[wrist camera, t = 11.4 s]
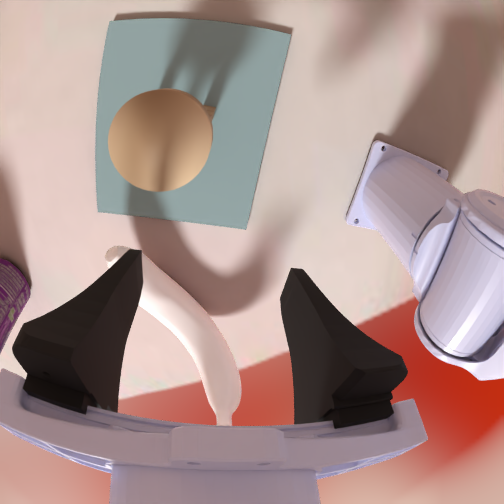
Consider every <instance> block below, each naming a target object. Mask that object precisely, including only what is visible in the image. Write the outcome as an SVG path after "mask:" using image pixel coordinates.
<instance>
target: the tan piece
mask: <svg viewBox="0 0 504 504" xmlns="http://www.w3.org/2000/svg"><path fill="white" fill-rule="evenodd" d="M215 110H216V107H212V106H207V105H203V104H202V103H201V102H200V101H199V100H198V99H196V98H195V97H194V96H192V95H191V94H189V93H187V92H184V91H181V90H177V89H170V88H165V89H157V90H151V91H147V92H144V93H141V94H139V95H137V96H135V97H133V98H131V99H130V100H129V101H127V102H126V103H125V104H124V105H123V106H122V107H121V108H120V109H119V111H118V112H117V113H116V115H115V117H114V119H113V121H112V123H111V126H110V129H109V134H108V149H109V154H110V157H111V160H112V162H113V164H114V166H115V168H116V169H117V171H118V172H119V173H120V175H121V176H122V177H123V178H124V179H125V180H127V181H128V182H129V183H131V184H132V185H134V186H136V187H138V188H141V189H144V190H148V191H154V192H164V191H170V190H174V189H177V188H180V187H182V186H184V185H185V184H187V183H189V182H190V181H191V180H193V179H194V178H195V177H196V176H197V175H198V174H199V172H200V171H201V170H202V168H203V167H204V165H205V163H206V161H207V159H208V156H209V153H210V149H211V146H212V141H213V126H212V120H213V117H214V113H215Z"/></svg>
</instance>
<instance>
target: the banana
mask: <svg viewBox="0 0 504 504" xmlns="http://www.w3.org/2000/svg"><path fill="white" fill-rule="evenodd" d="M129 249H131V248H128V247H125V246H114V247H112V248H110V249H109V250H108V251H107V253H106V255H105V258H106V262H107V266H108V269H109V268H110V267H111V266H112V265H113V264H114V263H115V262H116V261H117V260H118V259H119V258H120V257H122V256H123V255H124V254H125V253H126V252H127V251H128V250H129ZM142 269H143V287H142V292H141V297H140V301H139V304H138V305H139V306H141V307H142V308H143V309H145V310H146V311H148V312H149V313H150V314H152V315H153V316H154V317H155V318H157V319H158V320H159V321H160V322H162V323H163V324H164V325H165V326H166V327H167V328H169V329H170V330H171V331H172V332H173V333H174V334H175V335H176V336H177V337H178V338H179V340H180V341H181V342H182V343H183V345H184V346H185V347H186V349H187V350H188V351H189V353H190V354H191V356H192V358H193V360H194V361H195V363H196V365H197V368H198V370H199V373H200V376H201V379H202V382H203V385H204V389H205V392H206V395H207V398H208V401H209V403H210V405H211V407H212V409H213V410H214V412H215V413H216V417H217V426H232V419H231V417H232V413H233V412H234V411H235V410H236V408H237V407H238V405H239V403H240V398H241V382H240V376H239V372H238V368H237V365H236V362H235V360H234V357H233V355H232V352H231V350H230V348H229V346H228V344H227V342H226V340H225V338H224V337H223V335H222V333H221V332H220V331H219V329H218V328H217V326H216V325H215V323H214V322H213V320H212V319H211V317H210V316H209V315H208V313H207V312H206V311H205V310H204V309H203V308H202V306H201V305H200V304H199V303H198V302H197V301H196V300H195V299H194V298H193V297H192V296H191V295H190V294H189V293H187V292H186V291H185V290H184V289H183V288H182V287H181V286H180V285H179V284H177V283H176V282H175V281H174V280H173V279H172V278H170V277H169V276H168V275H167V274H166V273H164V272H163V271H162V270H161V269H160V268H159V267H157V266H156V265H155V264H154V263H153V262H152V261H151V260H150V259H149V258H148V257H147V256H145V255H144V254H142Z"/></svg>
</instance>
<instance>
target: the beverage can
mask: <svg viewBox="0 0 504 504" xmlns="http://www.w3.org/2000/svg"><path fill="white" fill-rule="evenodd" d="M29 298H30V288H29V285H28V283H27V281H26V279H25V277H24V276H23V274H22V273H21V272H20V270H19V269H18V268H17V267H16V266H14V265H13V264H12V263H10V262H9V261H7V260H5V259H1V258H0V353H1V351H2V349H3V347H4V345H5V343H6V341H7V339H8V336H9V334H10V332H11V330H12V329H13V327H14V325H15V323H16V321H17V319H18V317H19V315H20V314H21V312H22V310H23V308H24V306H25V305H26V303H27V301H28V299H29Z"/></svg>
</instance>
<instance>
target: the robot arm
mask: <svg viewBox="0 0 504 504" xmlns="http://www.w3.org/2000/svg"><path fill="white" fill-rule="evenodd" d="M382 146H384V150H381V148H382ZM438 170H439V171H438ZM437 171H438V172H437ZM448 174H449V173H448V171H447V170H446V169H444V168H442V167H440V166H438V165H436V164H434V163H432V162H430V161H427V160H425V159H423V158H421V157H419V156H416V155H414V154H412V153H409V152H407V151H405V150H402V149H400V148H397V147H395V146H392V145H390V144H387V143H385V142H382V141H379V140H376V141H374V142H373V144H372V147H371V150H370V153H369V156H368V159H367V161H366V164H365V167H364V170H363V173H362V176H361V179H360V181H359V184H358V187H357V190H356V192H355V195H354V198H353V200H352V203H351V206H350V208H349V211H348V213H347V216H346V222H347V223H348V224H349V225H353V226H358V227H363V228H368V229H373V230H377V231H378V232H379V233H380V234H381V236H382V237H383V238H384V240H385V241H386V242H387V244H388V245H389V246H390V248H391V249H392V250H393V252H394V253H395V254H396V256H397V257H398V258H399V260H400V261H401V263H402V264H403V265H404V267H405V268H406V270H407V271H408V273H409V274H410V275H411V277H412V278H413V280H414V287H413V290H412V292H413V293H414V295H415V296H416V298H417V300H418V301H419V305H418V307H417V309H416V311H415V316H414V323H415V328H416V331H417V334H418V336H419V338H420V340H421V342H422V343H423V344H424V346H425V347H426V348H427V349H428V350H429V351H430V352H431V353H432V354H433V355H435V356H436V357H437V358H439V359H440V360H442V361H444V362H447V363H450V364H453V365H457V366H460V367H463V368H464V369H466V370H468V371H469V372H470V373H472V374H473V375H474V376H475V377H476V378H478V379H479V380H493V379H500V378H504V197H502V196H500V195H498V194H495V193H493V192H490V191H486V190H482V189H477V190H474V191H472V192H467V193H465V194H463V193H462V192H461V191H459V190H458V189H457V188H455V187H454V186H452V185H451V184H450V183H448V182H447V181H446V180H447V178H448ZM355 219H358V220H357V221H356V222H354V220H355ZM142 287H143V269H142V250H134V249H129V250H128V251H127V252H126V253H125V254H124V255H123V256H122V257H120V258H119V259H118V260H117V261H116V262H115V263H114V264H113V265H112V266H111V267H110V268H109V269H108V270H107V271H106V272H105V273H104V274H103V275H102V276H101V277H100V278H98V279H97V280H96V281H95V282H94V283H93V284H92V285H90V286H89V287H88V288H87V289H85V290H84V291H83V292H81V293H80V294H79V295H77V296H76V297H74V298H73V299H71V300H70V301H68V302H66V303H65V304H63V305H62V306H60V307H58V308H57V309H55V310H53V311H51V312H49V313H47V314H45V315H43V316H41V317H38V318H36V319H34V320H31V321H29V322H26V323H24V324H23V326H22V328H21V330H20V332H19V334H18V336H17V338H16V340H15V342H14V344H13V347H12V351H13V354H14V356H15V358H16V359H17V361H18V362H19V363H20V365H21V366H22V367H23V369H24V370H25V371H26V373H27V377H26V380H25V379H24V378H23V377H21V376H19V375H17V374H15V373H12V372H10V371H8V370H6V369H2V370H1V372H0V425H1V426H2V427H4V428H5V429H6V430H8V431H9V432H11V433H12V434H13V435H15V436H17V437H19V438H21V439H23V440H25V441H27V442H29V443H31V444H34V445H35V446H38V447H40V448H42V449H44V450H47V451H49V452H51V453H54V454H56V455H58V456H61V457H63V458H66V459H69V460H71V461H74V462H77V463H79V464H82V465H86V466H88V467H92V468H95V469H98V470H101V471H104V472H108V473H111V485H110V502H109V503H110V504H320V498H319V492H318V486H317V480H316V479H321V478H324V477H329V476H334V475H338V474H341V473H346V472H349V471H353V470H356V469H360V468H363V467H366V466H370V465H373V464H376V463H379V462H382V461H385V460H388V459H391V458H394V457H397V456H399V455H401V454H403V453H405V452H407V451H408V450H410V449H412V448H414V447H416V446H418V445H419V444H421V443H423V442H425V441H427V439H428V438H427V435H426V432H425V429H424V426H423V423H422V420H421V417H420V415H419V412H418V409H417V406H416V404H415V401H414V399H409V400H406V401H401V402H398V403H395V404H393V405H391V403H390V400H391V399H392V398H393V396H392V393H391V391H392V390H394V388H396V387H397V386H398V385H399V384H400V383H401V382H402V381H403V380H404V379H405V377H406V376H407V373H408V370H407V368H406V366H405V363H404V361H403V359H402V357H401V356H400V355H398V354H396V353H394V352H393V351H391V350H389V349H387V348H385V347H384V346H382V345H380V344H379V343H377V342H376V341H374V340H373V339H371V338H370V337H368V336H367V335H366V334H364V333H363V332H362V331H360V330H359V329H358V328H357V327H356V326H354V325H353V324H352V323H351V322H350V321H349V320H348V319H347V318H345V317H344V316H343V315H342V314H341V313H340V312H339V311H338V310H337V309H336V308H335V307H334V305H333V304H332V303H331V302H330V301H329V300H328V299H327V298H326V297H325V295H324V294H323V293H322V292H321V291H320V289H319V288H318V287H317V286H316V285H315V283H314V282H313V281H312V280H311V278H310V277H309V276H308V275H307V274H306V272H305V271H304V270H303V269H297V268H291V270H290V272H289V275H288V278H287V281H286V283H285V286H284V289H283V292H282V294H281V297H280V302H281V314H282V320H283V324H284V329H285V333H286V337H287V342H288V346H289V351H290V356H291V363H292V373H293V386H294V409H295V410H294V425H278V426H217V425H215V426H214V425H200V424H188V423H178V422H170V421H162V420H155V419H148V418H141V417H137V416H131V415H126V414H120V413H117V412H118V395H119V385H120V376H121V369H122V362H123V356H124V350H125V345H126V341H127V337H128V334H129V331H130V328H131V325H132V322H133V319H134V316H135V313H136V310H137V307H138V304H139V301H140V297H141V292H142Z"/></svg>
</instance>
